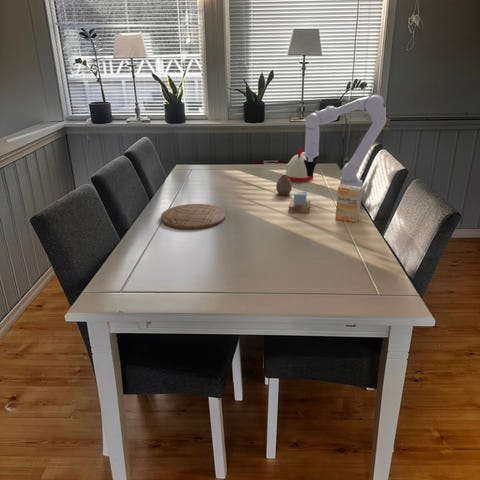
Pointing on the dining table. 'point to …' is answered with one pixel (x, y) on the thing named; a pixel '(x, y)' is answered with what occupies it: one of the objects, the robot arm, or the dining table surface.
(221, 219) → the trivet
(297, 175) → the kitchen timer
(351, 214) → the supplement box
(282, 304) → the dining table surface
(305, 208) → the base
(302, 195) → the cube
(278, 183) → the vase
